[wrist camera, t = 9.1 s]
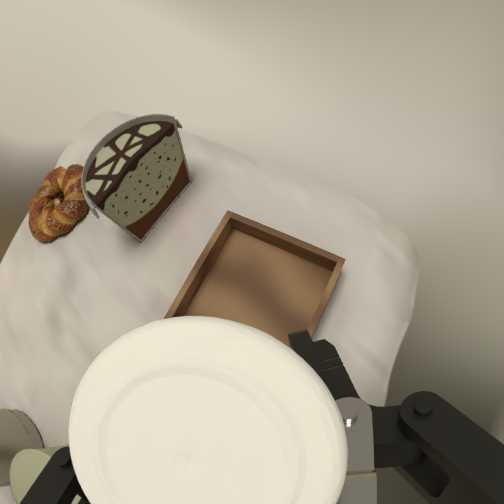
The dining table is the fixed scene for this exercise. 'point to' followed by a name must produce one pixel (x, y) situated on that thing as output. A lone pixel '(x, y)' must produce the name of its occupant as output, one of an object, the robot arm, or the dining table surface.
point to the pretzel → (57, 203)
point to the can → (30, 470)
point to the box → (259, 279)
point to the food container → (137, 173)
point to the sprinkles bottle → (205, 420)
